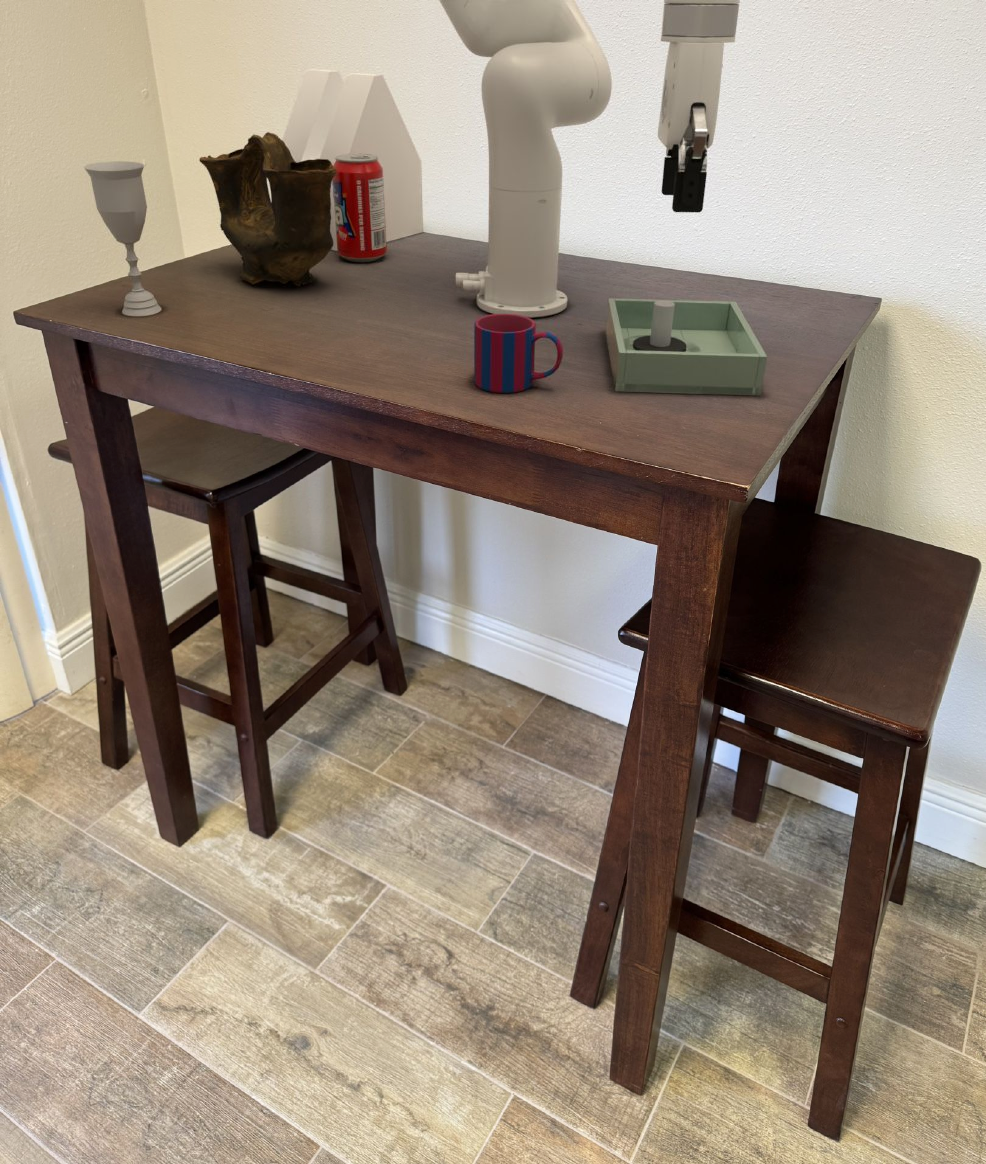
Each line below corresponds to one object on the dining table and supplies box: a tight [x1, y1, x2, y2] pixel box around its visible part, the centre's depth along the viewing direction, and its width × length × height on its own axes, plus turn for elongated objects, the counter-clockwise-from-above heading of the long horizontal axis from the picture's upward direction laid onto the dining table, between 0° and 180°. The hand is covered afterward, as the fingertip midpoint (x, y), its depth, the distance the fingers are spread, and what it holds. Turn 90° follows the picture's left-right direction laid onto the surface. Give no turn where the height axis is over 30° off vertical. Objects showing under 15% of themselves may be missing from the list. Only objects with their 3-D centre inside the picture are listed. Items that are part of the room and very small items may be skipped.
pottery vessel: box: [199, 131, 337, 287], centre depth 134 cm, size 25×11×20 cm, turn 46°
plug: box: [633, 299, 687, 352], centre depth 112 cm, size 6×6×6 cm
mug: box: [473, 313, 564, 394], centre depth 103 cm, size 7×10×7 cm
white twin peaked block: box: [281, 68, 424, 252], centre depth 156 cm, size 19×15×25 cm
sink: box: [605, 297, 768, 397], centre depth 111 cm, size 16×20×4 cm
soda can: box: [332, 154, 388, 263], centre depth 146 cm, size 8×8×15 cm
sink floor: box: [605, 328, 762, 396], centre depth 112 cm, size 16×20×1 cm
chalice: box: [83, 160, 162, 317], centre depth 121 cm, size 7×7×18 cm
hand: (680, 202), depth 105 cm, fingers open, 9 cm apart
